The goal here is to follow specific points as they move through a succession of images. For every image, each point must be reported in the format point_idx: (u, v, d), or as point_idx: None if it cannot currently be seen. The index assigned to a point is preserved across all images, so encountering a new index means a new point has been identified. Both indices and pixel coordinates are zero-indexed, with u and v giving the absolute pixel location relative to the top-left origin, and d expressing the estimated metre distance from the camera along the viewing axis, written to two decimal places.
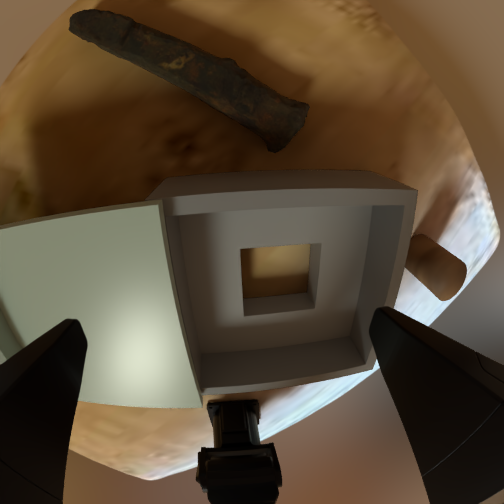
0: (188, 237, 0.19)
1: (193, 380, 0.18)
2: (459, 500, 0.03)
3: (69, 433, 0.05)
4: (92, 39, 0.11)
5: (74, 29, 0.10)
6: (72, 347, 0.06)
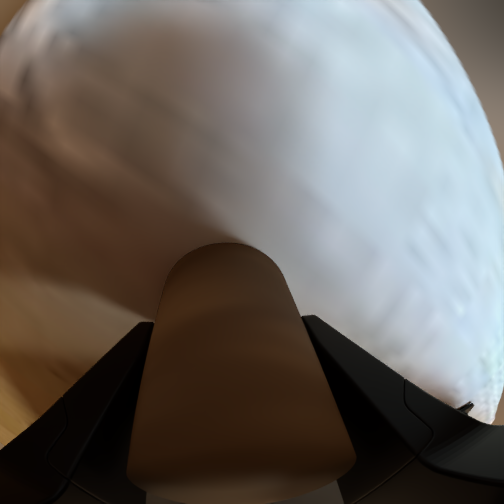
0: None
1: None
2: None
3: None
4: None
5: None
6: None
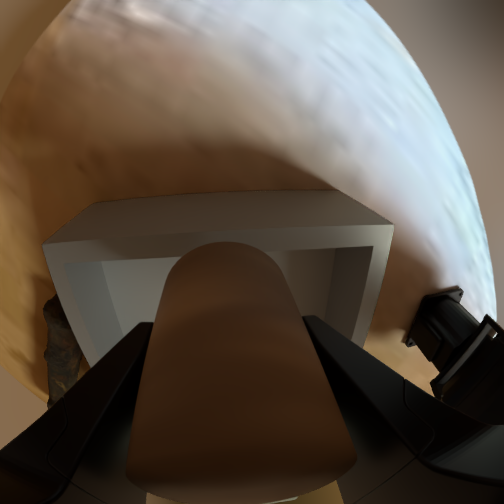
0: None
1: None
2: None
3: None
4: None
5: None
6: None
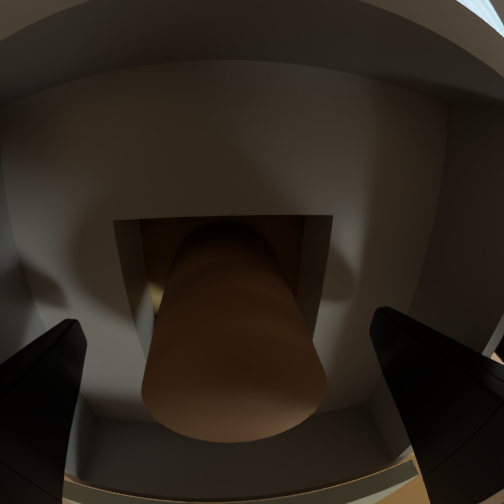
0: (144, 417, 0.11)
1: (348, 502, 0.07)
2: (459, 500, 0.03)
3: (68, 433, 0.05)
4: None
5: None
6: (72, 347, 0.06)
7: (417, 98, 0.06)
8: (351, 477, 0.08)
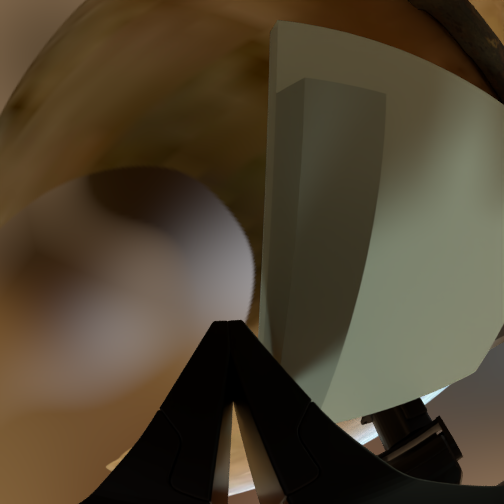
0: None
1: None
2: None
3: None
4: None
5: None
6: None
7: None
8: None
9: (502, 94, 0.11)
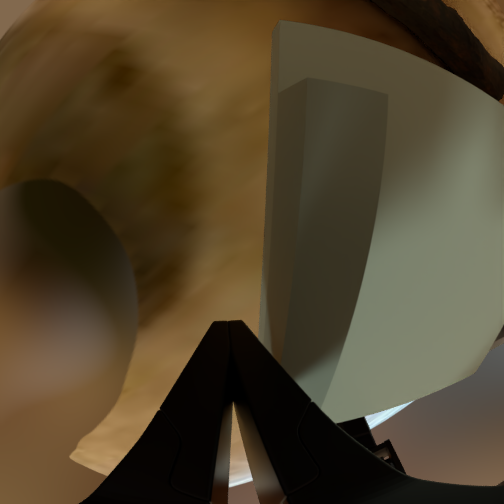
0: None
1: (497, 334, 0.12)
2: None
3: (229, 449, 0.05)
4: None
5: None
6: None
7: None
8: None
9: (448, 60, 0.10)
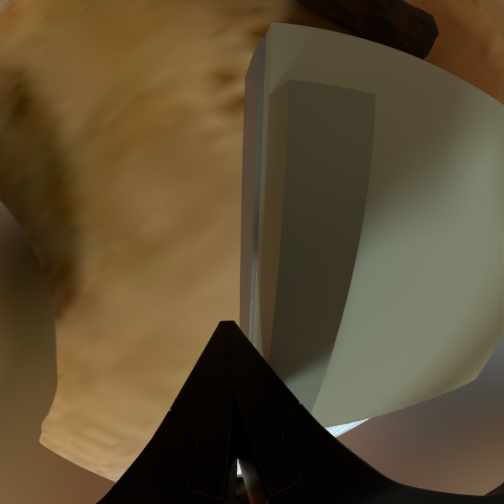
0: None
1: (499, 340, 0.11)
2: None
3: None
4: None
5: None
6: None
7: None
8: None
9: (346, 21, 0.09)
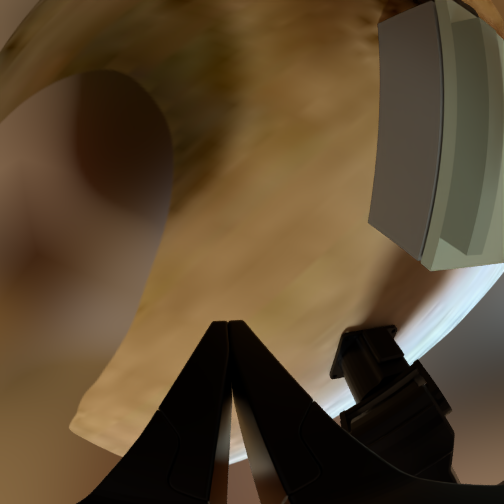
0: None
1: None
2: None
3: (229, 449, 0.05)
4: None
5: None
6: None
7: None
8: None
9: None
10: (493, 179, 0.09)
